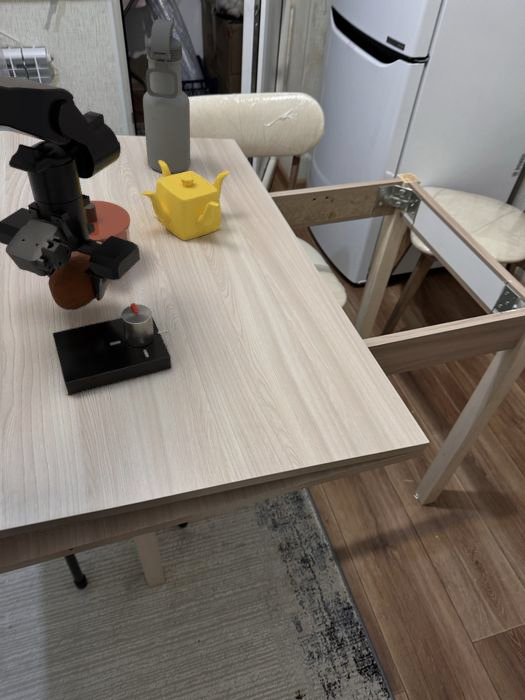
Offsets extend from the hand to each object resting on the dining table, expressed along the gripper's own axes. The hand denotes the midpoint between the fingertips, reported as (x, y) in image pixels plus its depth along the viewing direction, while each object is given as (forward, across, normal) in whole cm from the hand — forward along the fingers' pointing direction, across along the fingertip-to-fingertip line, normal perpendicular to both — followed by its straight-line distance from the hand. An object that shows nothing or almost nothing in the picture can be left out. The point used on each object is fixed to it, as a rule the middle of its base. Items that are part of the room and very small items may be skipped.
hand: (78, 291), depth 71 cm
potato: (+1, 0, 0) cm, 1 cm away
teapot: (+5, +1, +32) cm, 32 cm away
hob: (+5, +9, -5) cm, 11 cm away
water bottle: (+5, -14, +52) cm, 54 cm away
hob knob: (+2, +11, -2) cm, 12 cm away
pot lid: (-3, -7, +13) cm, 15 cm away
